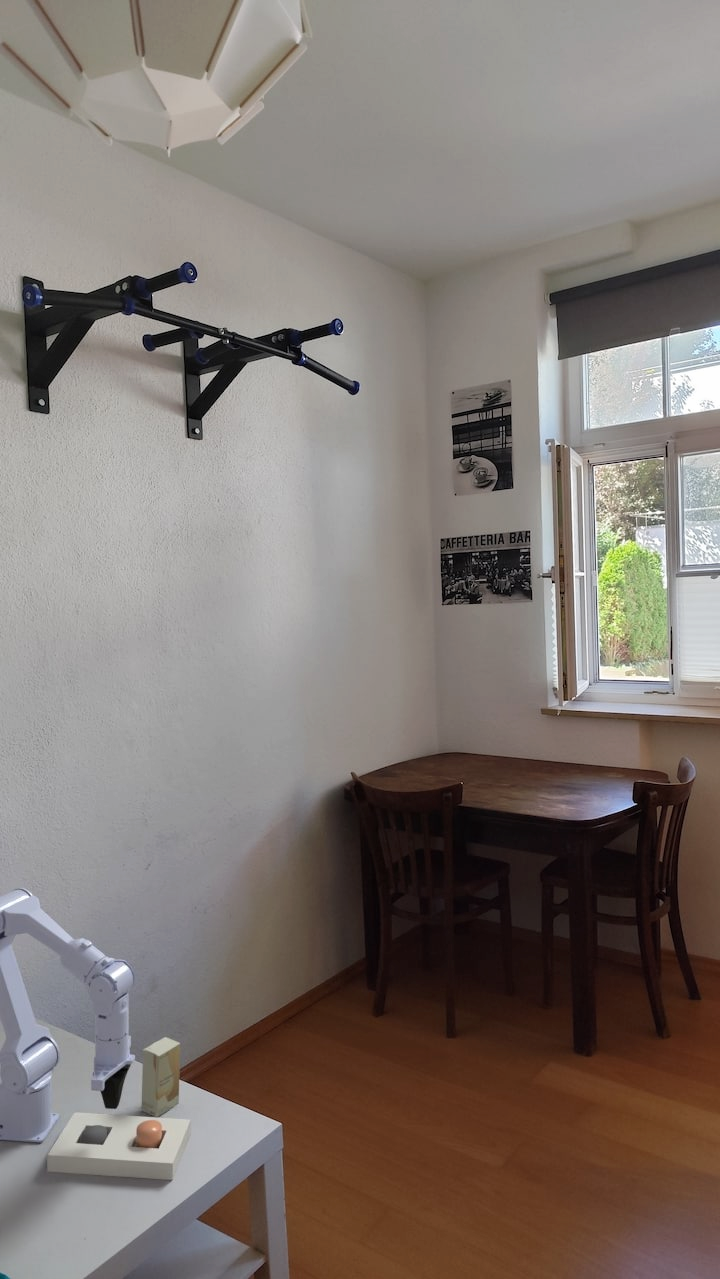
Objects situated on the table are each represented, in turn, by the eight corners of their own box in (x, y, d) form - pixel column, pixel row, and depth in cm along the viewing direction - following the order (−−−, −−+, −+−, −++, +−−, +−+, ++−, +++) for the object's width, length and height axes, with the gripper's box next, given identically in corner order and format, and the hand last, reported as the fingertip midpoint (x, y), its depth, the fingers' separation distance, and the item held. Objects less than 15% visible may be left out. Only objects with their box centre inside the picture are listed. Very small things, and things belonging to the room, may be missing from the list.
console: (47, 1171, 148) (47, 1154, 148) (74, 1127, 160) (74, 1112, 160) (172, 1180, 147) (172, 1163, 146) (190, 1135, 159) (190, 1119, 158)
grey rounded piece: (77, 1156, 151) (77, 1140, 151) (86, 1140, 156) (86, 1124, 156) (101, 1157, 151) (101, 1141, 151) (110, 1141, 156) (110, 1125, 155)
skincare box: (156, 1118, 163) (157, 1057, 162) (140, 1110, 165) (141, 1049, 165) (180, 1102, 169) (181, 1042, 168) (164, 1094, 171) (165, 1035, 170)
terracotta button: (132, 1151, 151) (133, 1134, 150) (140, 1135, 155) (140, 1119, 155) (157, 1152, 150) (157, 1136, 150) (164, 1136, 155) (164, 1120, 155)
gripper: (119, 1056, 144) (119, 1133, 145) (146, 1013, 159) (146, 1084, 160) (79, 1054, 145) (79, 1131, 146) (109, 1011, 159) (109, 1082, 160)
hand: (112, 1106), depth 153 cm, fingers closed
